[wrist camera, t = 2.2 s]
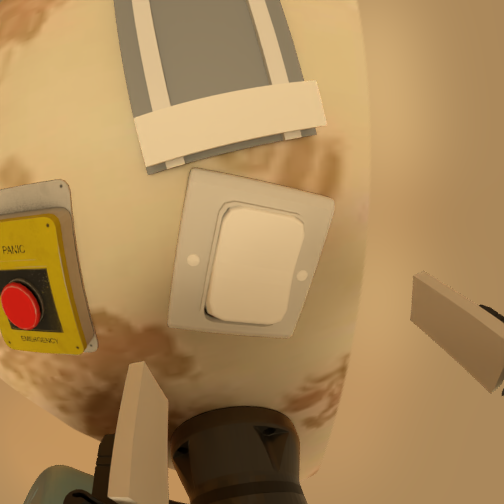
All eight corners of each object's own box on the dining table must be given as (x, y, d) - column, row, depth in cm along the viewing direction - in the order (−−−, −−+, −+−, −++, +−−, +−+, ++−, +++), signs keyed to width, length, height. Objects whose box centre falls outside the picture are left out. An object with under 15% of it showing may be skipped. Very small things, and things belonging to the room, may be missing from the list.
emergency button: (7, 369, 17) (-42, 201, 12) (24, 343, 21) (-12, 191, 16) (90, 380, 18) (45, 182, 14) (102, 348, 23) (72, 177, 18)
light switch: (164, 349, 20) (189, 171, 16) (167, 318, 24) (191, 165, 20) (299, 359, 23) (354, 208, 19) (285, 330, 26) (328, 196, 22)
